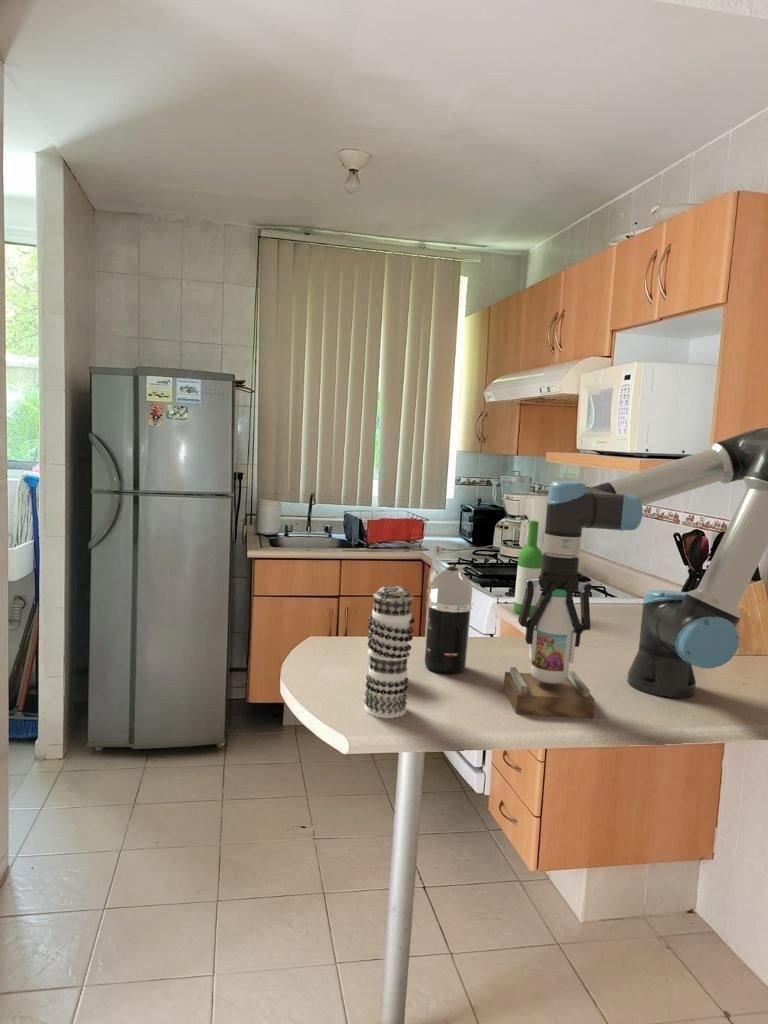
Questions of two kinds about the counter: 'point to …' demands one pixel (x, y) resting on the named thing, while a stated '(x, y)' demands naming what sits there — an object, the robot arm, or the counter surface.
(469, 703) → the counter surface
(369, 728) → the counter surface
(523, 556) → the wine bottle
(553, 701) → the display riser
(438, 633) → the black water bottle
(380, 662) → the decorative candle
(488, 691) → the counter surface
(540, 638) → the milk bottle
